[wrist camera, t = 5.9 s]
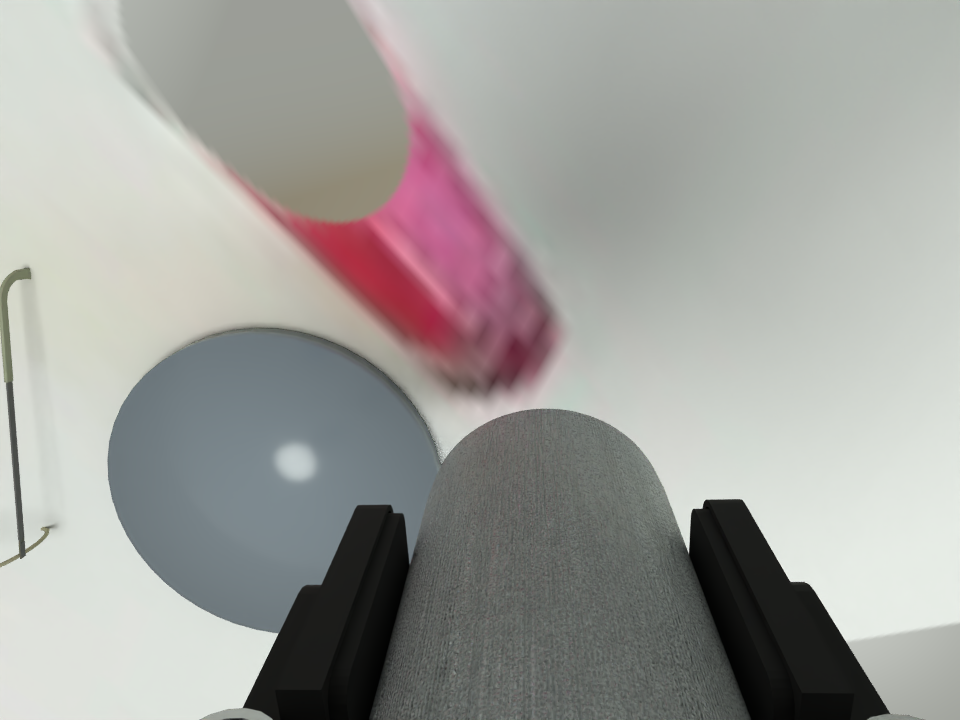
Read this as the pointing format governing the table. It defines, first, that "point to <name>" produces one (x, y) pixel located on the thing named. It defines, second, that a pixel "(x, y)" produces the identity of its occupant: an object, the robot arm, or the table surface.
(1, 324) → the eyeglasses
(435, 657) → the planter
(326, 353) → the dish
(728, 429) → the table surface
